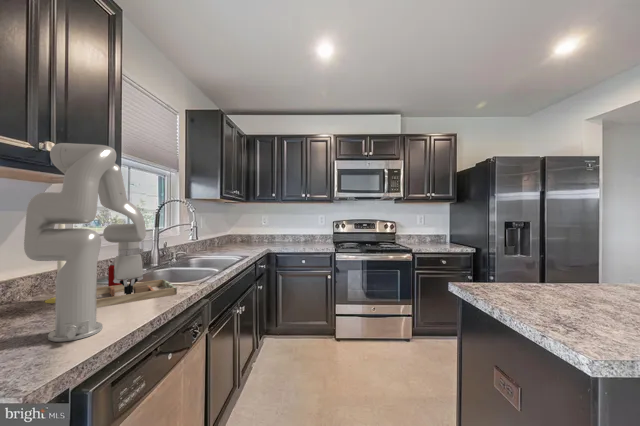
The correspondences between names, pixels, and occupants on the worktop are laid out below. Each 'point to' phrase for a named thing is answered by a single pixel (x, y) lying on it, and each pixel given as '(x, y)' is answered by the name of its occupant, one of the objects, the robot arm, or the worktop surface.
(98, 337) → the worktop surface
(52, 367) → the worktop surface
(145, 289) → the block
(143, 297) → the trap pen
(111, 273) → the beverage can
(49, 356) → the worktop surface
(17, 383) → the worktop surface
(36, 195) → the robot arm
